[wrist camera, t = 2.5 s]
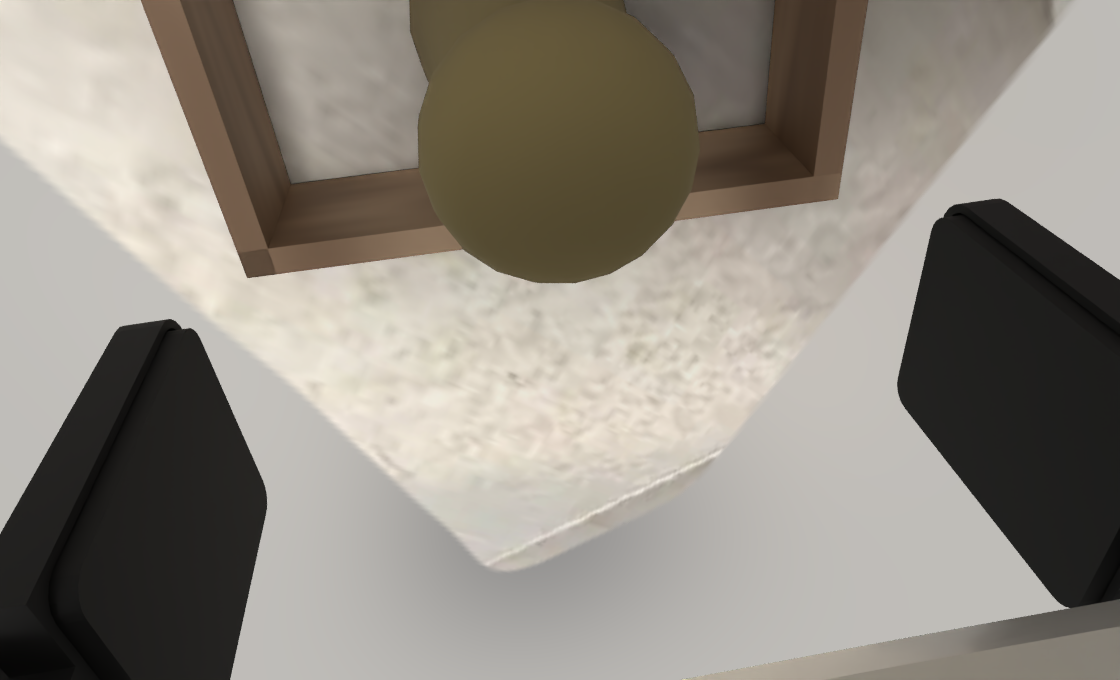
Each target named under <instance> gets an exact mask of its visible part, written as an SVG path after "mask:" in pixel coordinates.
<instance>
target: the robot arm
mask: <svg viewBox="0 0 1120 680" xmlns="http://www.w3.org/2000/svg"><path fill="white" fill-rule="evenodd" d="M897 387H898V394H899V397H900V400H901V402H902V404H903V406H904V407H905V409H906V410H907V411H908V413H909V414H910V415H911V416H912V418H913V419H914V420H915V422H916V423H917V424H918V425H919V427H920V428H921V429H922V430H923V432H924V433H925V434H926V436H927V437H928V438H929V439H930V440H931V442H932V443H933V444H934V446H935V447H936V448H937V450H938V451H939V452H940V453H941V455H942V456H943V457H944V458H945V460H946V461H947V462H948V464H949V465H950V466H951V467H952V469H953V470H954V471H955V472H956V474H957V475H958V476H959V477H960V478H961V480H962V481H963V483H964V484H965V485H966V486H967V488H968V489H969V490H970V492H971V493H972V494H973V495H974V496H975V498H976V499H977V500H978V502H979V503H980V504H981V506H982V507H983V508H984V509H985V510H986V512H987V513H988V514H989V516H990V517H991V518H992V519H993V521H994V522H995V523H996V525H997V526H998V527H999V528H1000V530H1001V531H1002V532H1003V533H1004V535H1005V536H1006V537H1007V539H1008V540H1009V541H1010V542H1011V544H1012V545H1013V546H1014V548H1015V549H1016V550H1017V551H1018V553H1019V554H1020V555H1021V556H1022V558H1023V559H1024V560H1025V562H1026V563H1027V564H1028V565H1029V567H1030V568H1031V569H1032V570H1033V572H1034V573H1035V574H1036V576H1037V577H1038V578H1039V579H1040V580H1041V582H1042V583H1043V584H1044V586H1045V587H1046V588H1047V590H1048V591H1049V592H1050V593H1051V595H1052V596H1053V597H1054V598H1055V599H1056V600H1057V601H1058V602H1059V603H1060V604H1062V605H1064V606H1065V607H1069V608H1070V609H1064V610H1058V611H1053V612H1047V613H1042V614H1037V615H1031V616H1026V617H1020V618H1015V619H1009V620H1003V621H998V622H992V623H987V624H981V625H975V626H970V627H964V628H959V629H954V630H948V631H942V632H937V633H932V634H925V635H920V636H915V637H909V638H904V639H898V640H893V641H887V642H883V643H877V644H871V645H866V646H861V647H855V648H849V649H844V650H839V651H833V652H828V653H823V654H818V655H812V656H806V657H801V658H796V659H790V660H785V661H779V662H774V663H768V664H763V665H758V666H753V667H747V668H742V669H736V670H731V671H726V672H720V673H715V674H710V675H705V676H699V677H694V678H689V679H683V680H1120V280H1119V279H1117V278H1116V277H1115V276H1113V275H1112V274H1110V273H1109V272H1107V271H1106V270H1105V269H1103V268H1102V267H1100V266H1099V265H1097V264H1096V263H1095V262H1093V261H1092V260H1090V259H1089V258H1087V257H1086V256H1084V255H1083V254H1082V253H1080V252H1079V251H1077V250H1076V249H1074V248H1073V247H1072V246H1070V245H1069V244H1067V243H1066V242H1064V241H1063V240H1062V239H1060V238H1059V237H1057V236H1056V235H1054V234H1053V233H1052V232H1050V231H1049V230H1047V229H1046V228H1044V227H1043V226H1041V225H1040V224H1039V223H1037V222H1036V221H1034V220H1033V219H1031V218H1030V217H1029V216H1027V215H1026V214H1024V213H1023V212H1021V211H1020V210H1019V209H1017V208H1015V207H1014V206H1013V205H1011V204H1010V203H1009V202H1007V201H1005V200H1002V199H991V200H984V201H977V202H970V203H964V204H956V205H953V206H952V207H950V208H949V209H948V210H947V212H946V213H945V214H944V217H943V218H940V219H939V220H937V221H936V222H935V224H934V225H933V228H932V231H931V235H930V239H929V244H928V248H927V252H926V257H925V261H924V266H923V270H922V275H921V279H920V283H919V288H918V292H917V297H916V301H915V305H914V310H913V315H912V319H911V323H910V328H909V332H908V336H907V341H906V345H905V349H904V354H903V359H902V363H901V367H900V371H899V376H898V382H897ZM266 510H267V496H266V490H265V485H264V483H263V480H262V478H261V476H260V473H259V471H258V469H257V466H256V464H255V462H254V460H253V457H252V455H251V453H250V450H249V448H248V446H247V444H246V441H245V439H244V437H243V435H242V432H241V430H240V428H239V426H238V423H237V421H236V419H235V417H234V415H233V412H232V410H231V407H230V405H229V403H228V401H227V399H226V396H225V394H224V392H223V389H222V387H221V385H220V383H219V380H218V378H217V376H216V374H215V371H214V369H213V367H212V364H211V362H210V360H209V358H208V355H207V353H206V351H205V349H204V347H203V344H202V342H201V340H200V338H199V336H198V334H197V333H196V332H195V331H194V330H193V329H191V328H189V329H182V328H181V327H180V325H178V323H177V322H176V321H174V320H172V319H168V320H161V321H154V322H147V323H140V324H133V325H127V326H122V327H119V329H118V330H117V331H116V332H115V333H114V335H113V337H112V339H111V340H110V342H109V344H108V346H107V347H106V349H105V351H104V353H103V355H102V356H101V358H100V360H99V362H98V363H97V365H96V367H95V369H94V370H93V372H92V374H91V376H90V378H89V379H88V381H87V383H86V384H85V386H84V388H83V390H82V392H81V393H80V395H79V397H78V398H77V400H76V402H75V404H74V405H73V407H72V409H71V411H70V412H69V414H68V416H67V418H66V419H65V421H64V423H63V425H62V427H61V428H60V430H59V432H58V434H57V435H56V437H55V439H54V441H53V442H52V444H51V446H50V448H49V449H48V451H47V453H46V455H45V457H44V458H43V460H42V462H41V463H40V465H39V467H38V469H37V471H36V472H35V474H34V476H33V478H32V480H31V481H30V483H29V484H28V486H27V488H26V490H25V492H24V493H23V495H22V497H21V498H20V500H19V502H18V504H17V506H16V507H15V509H14V511H13V513H12V514H11V516H10V518H9V520H8V521H7V523H6V525H5V527H4V528H3V530H2V532H1V534H0V680H230V677H231V673H232V668H233V663H234V658H235V654H236V650H237V645H238V640H239V636H240V631H241V626H242V622H243V617H244V612H245V608H246V603H247V599H248V594H249V589H250V585H251V580H252V576H253V571H254V566H255V561H256V557H257V552H258V548H259V543H260V539H261V534H262V530H263V525H264V520H265V516H266Z"/></svg>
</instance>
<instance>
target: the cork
mask: <svg viewBox="0 0 1120 680" xmlns="http://www.w3.org/2000/svg"><path fill="white" fill-rule="evenodd" d="M409 3H410V32H411V35H412V38H413V41H414V44H415V47H416V50H417V53H418V56H419V59H420V62H421V65H422V67H423V70H424V72H425V75H426V77H427V80H428V82H429V85H428V89H427V92H426V95H425V98H424V101H423V104H422V107H421V110H420V114H419V120H418V156H419V172H420V175H421V178H422V180H423V183H424V186H425V188H426V191H427V194H428V196H429V199H430V202H431V204H432V207H433V210H434V211H435V213H436V215H437V216H438V218H439V220H440V221H441V222H442V223H443V225H444V226H445V227H446V228H447V230H448V231H449V232H450V233H451V235H452V236H453V237H454V238H455V239H456V241H457V242H458V243H459V244H460V246H461V247H462V248H463V249H464V250H465V251H466V252H468V253H469V254H471V255H472V256H474V257H475V258H477V259H478V260H480V261H482V262H483V263H485V264H486V265H488V266H489V267H491V268H492V269H494V270H495V271H497V272H501V273H504V274H508V275H511V276H514V277H518V278H521V279H525V280H528V281H532V282H537V283H578V282H581V281H585V280H589V279H592V278H596V277H600V276H604V275H607V274H611V273H612V272H614V271H616V270H618V269H619V268H621V267H623V266H625V265H626V264H628V263H630V262H631V261H633V260H635V259H637V258H638V257H640V256H642V255H643V254H644V253H645V252H646V251H647V250H648V249H649V248H650V247H651V246H652V245H653V244H654V243H655V242H656V241H657V240H658V239H659V238H660V237H661V236H662V235H663V234H664V233H665V232H666V231H667V229H668V228H669V227H670V226H671V225H672V224H673V223H674V221H675V219H676V217H677V216H678V214H679V212H680V210H681V208H682V206H683V205H684V203H685V201H686V199H687V197H688V195H689V194H690V192H691V190H692V186H693V182H694V177H695V172H696V167H697V162H698V157H699V152H700V144H699V134H698V126H697V118H696V110H695V102H694V95H693V93H692V91H691V89H690V87H689V85H688V83H687V81H686V79H685V77H684V75H683V73H682V71H681V69H680V67H679V65H678V63H677V61H676V59H675V57H674V55H673V54H672V53H671V52H670V51H669V50H668V49H667V48H666V47H665V46H664V45H663V44H662V43H661V42H660V41H659V40H658V39H657V38H656V37H655V36H654V35H653V34H652V33H651V32H650V31H648V30H647V29H646V28H645V27H644V26H643V25H642V24H641V23H640V22H639V21H638V20H637V19H636V18H635V17H633V16H631V15H629V14H627V13H626V9H625V5H624V1H623V0H409Z"/></svg>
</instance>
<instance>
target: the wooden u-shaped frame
mask: <svg viewBox="0 0 1120 680" xmlns="http://www.w3.org/2000/svg"><path fill="white" fill-rule="evenodd" d="M141 2H142V5H143V7H144V10H145V13H146V15H147V18H148V20H149V23H150V26H151V28H152V31H153V33H154V36H155V39H156V41H157V44H158V46H159V49H160V52H161V54H162V57H163V60H164V62H165V65H166V67H167V70H168V73H169V75H170V78H171V80H172V83H173V86H174V88H175V91H176V93H177V96H178V99H179V101H180V104H181V106H182V109H183V112H184V114H185V117H186V119H187V122H188V125H189V127H190V130H191V133H192V135H193V138H194V140H195V143H196V146H197V148H198V151H199V153H200V156H201V159H202V161H203V164H204V166H205V169H206V172H207V174H208V177H209V179H210V182H211V185H212V187H213V190H214V192H215V195H216V198H217V200H218V203H219V206H220V208H221V211H222V213H223V216H224V219H225V221H226V224H227V226H228V229H229V232H230V234H231V237H232V239H233V242H234V245H235V247H236V250H237V252H238V255H239V258H240V260H241V263H242V266H243V268H244V271H245V273H246V276H247V278H252V277H259V276H267V275H274V274H282V273H289V272H297V271H304V270H312V269H319V268H326V267H334V266H341V265H349V264H356V263H364V262H371V261H379V260H386V259H394V258H401V257H409V256H416V255H424V254H431V253H438V252H446V251H453V250H461V249H463V248H462V247H461V246H460V244H459V243H458V242H457V241H456V239H455V238H454V237H453V236H452V235H451V233H450V232H449V231H448V230H447V228H446V227H445V226H444V225H443V223H442V222H441V221H440V220H439V218H438V216H437V215H436V213H435V211H434V210H433V207H432V204H431V202H430V199H429V196H428V194H427V191H426V188H425V186H424V183H423V180H422V178H421V175H420V172H419V168H415V169H408V170H400V171H392V172H384V173H376V174H369V175H361V176H353V177H345V178H337V179H329V180H322V181H314V182H306V183H298V184H290V181H289V177H288V174H287V171H286V168H285V165H284V162H283V159H282V155H281V152H280V149H279V146H278V143H277V140H276V136H275V133H274V130H273V127H272V124H271V121H270V117H269V114H268V111H267V108H266V105H265V102H264V98H263V95H262V92H261V89H260V86H259V83H258V79H257V76H256V73H255V70H254V67H253V64H252V60H251V57H250V54H249V51H248V48H247V45H246V41H245V38H244V35H243V32H242V29H241V26H240V22H239V19H238V16H237V13H236V10H235V7H234V3H233V0H141ZM867 4H868V0H775V9H774V21H773V33H772V45H771V57H770V69H769V80H768V92H767V104H766V116H765V124H760V125H752V126H744V127H736V128H729V129H721V130H713V131H705V132H698V134H699V144H700V152H699V157H698V162H697V167H696V172H695V177H694V182H693V186H692V190H691V192H690V194H689V195H688V197H687V199H686V201H685V203H684V205H683V206H682V208H681V210H680V212H679V214H678V216H677V217H676V219H675V221H677V220H685V219H692V218H700V217H707V216H715V215H722V214H730V213H737V212H745V211H752V210H759V209H767V208H774V207H782V206H789V205H797V204H804V203H812V202H819V201H827V200H834V199H838V195H839V188H840V182H841V175H842V168H843V162H844V155H845V149H846V142H847V136H848V129H849V122H850V116H851V109H852V103H853V96H854V90H855V83H856V76H857V70H858V63H859V57H860V50H861V44H862V37H863V30H864V24H865V17H866V11H867Z"/></svg>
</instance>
